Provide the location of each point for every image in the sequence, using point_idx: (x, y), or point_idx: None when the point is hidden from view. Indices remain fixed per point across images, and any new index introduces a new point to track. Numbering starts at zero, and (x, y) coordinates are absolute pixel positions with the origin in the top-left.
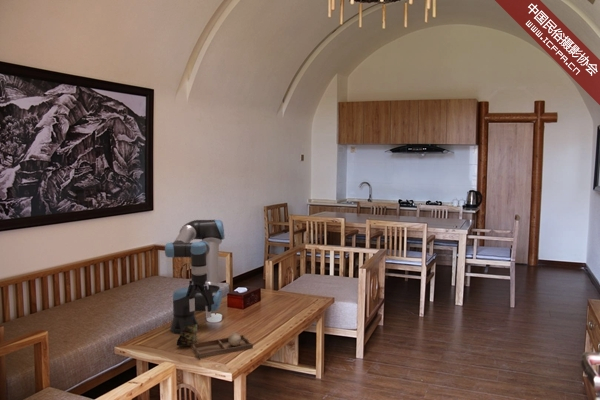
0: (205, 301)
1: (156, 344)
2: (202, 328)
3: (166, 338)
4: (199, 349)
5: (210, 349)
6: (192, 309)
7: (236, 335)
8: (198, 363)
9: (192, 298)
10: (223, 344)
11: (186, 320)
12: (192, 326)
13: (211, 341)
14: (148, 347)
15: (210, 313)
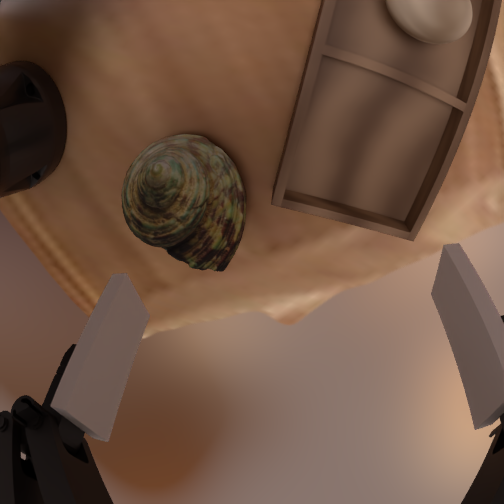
0: (481, 480)
1: (130, 272)
2: (39, 41)
3: (84, 221)
4: (320, 175)
5: (364, 132)
6: (134, 314)
7: (468, 9)
8: (425, 242)
9: (70, 420)
10: (353, 36)
11: (13, 151)
12: (171, 201)
13: (311, 94)
14: (146, 299)
15: (476, 285)
